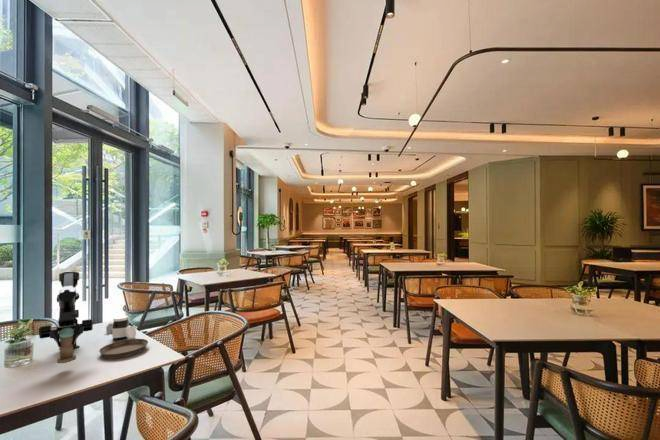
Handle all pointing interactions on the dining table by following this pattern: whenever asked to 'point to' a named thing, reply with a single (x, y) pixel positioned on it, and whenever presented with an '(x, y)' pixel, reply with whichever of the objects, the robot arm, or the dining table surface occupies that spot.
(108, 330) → the lighter
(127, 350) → the plant saucer
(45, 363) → the dining table surface
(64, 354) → the bead column
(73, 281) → the robot arm
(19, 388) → the dining table surface
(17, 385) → the dining table surface
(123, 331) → the spread jar
